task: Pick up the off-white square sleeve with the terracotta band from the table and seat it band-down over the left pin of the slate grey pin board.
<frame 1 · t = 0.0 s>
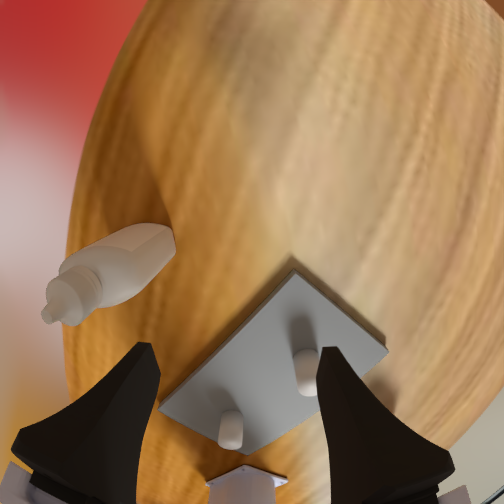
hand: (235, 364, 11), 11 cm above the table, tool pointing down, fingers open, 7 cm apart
pin board: (266, 384, 24), on the table
eye dropper bottle: (144, 244, 21), on the table
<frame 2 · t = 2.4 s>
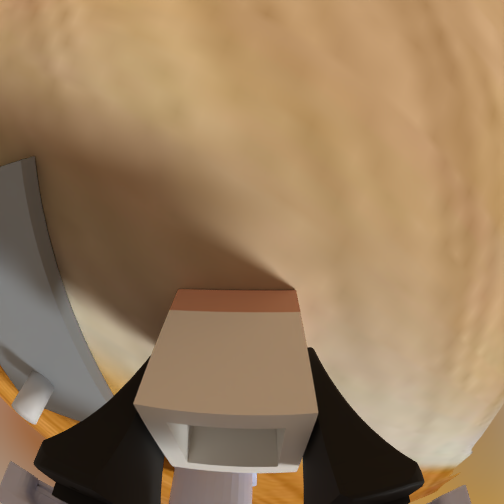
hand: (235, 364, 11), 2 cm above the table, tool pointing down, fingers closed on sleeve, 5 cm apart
pin board: (19, 322, 14), on the table
sleeve: (238, 334, 13), on the table, touching gripper
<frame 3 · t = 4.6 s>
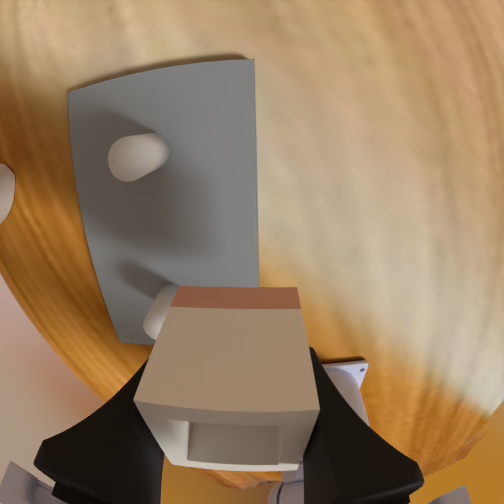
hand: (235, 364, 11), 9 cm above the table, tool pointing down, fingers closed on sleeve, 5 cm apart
pin board: (166, 225, 18), on the table
eye dropper bottle: (4, 192, 17), on the table
sleeve: (238, 332, 13), point 7 cm above the table, touching gripper
when the fingers open (4 cm above the table, at t = 6.6 s): sleeve drops 1 cm, resting on pin board.
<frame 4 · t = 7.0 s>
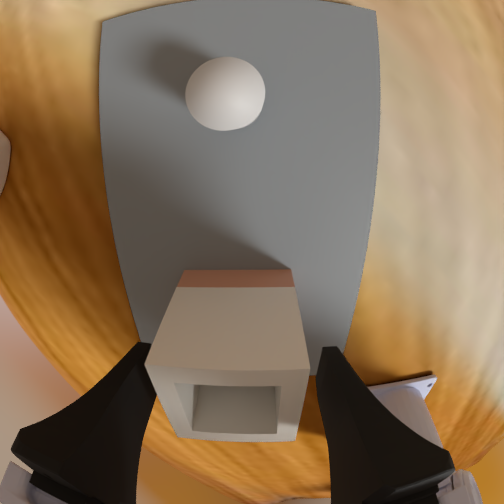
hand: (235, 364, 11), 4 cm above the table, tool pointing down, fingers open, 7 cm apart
pin board: (238, 213, 13), on the table
sleeve: (239, 312, 14), point 1 cm above the table, touching pin board
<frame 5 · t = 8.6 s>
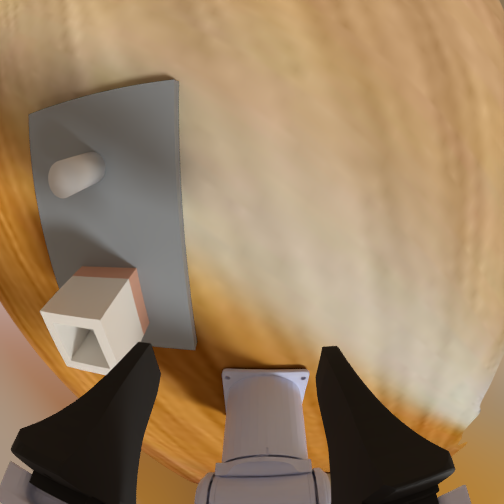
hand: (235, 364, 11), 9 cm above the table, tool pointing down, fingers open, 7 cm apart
pin board: (108, 232, 19), on the table
sleeve: (114, 295, 20), point 1 cm above the table, touching pin board
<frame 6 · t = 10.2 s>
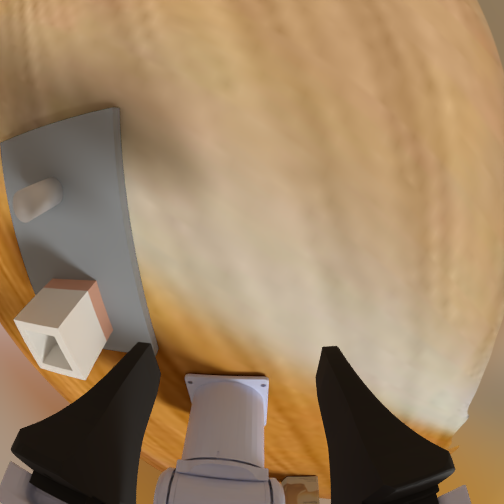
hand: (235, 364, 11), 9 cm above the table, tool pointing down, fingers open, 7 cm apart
pin board: (72, 248, 20), on the table
skincare box: (298, 478, 40), on the table
sleeve: (81, 304, 21), point 1 cm above the table, touching pin board
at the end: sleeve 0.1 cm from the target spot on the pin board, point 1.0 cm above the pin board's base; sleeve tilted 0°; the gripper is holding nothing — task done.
